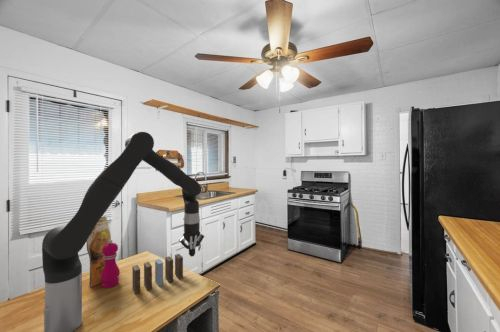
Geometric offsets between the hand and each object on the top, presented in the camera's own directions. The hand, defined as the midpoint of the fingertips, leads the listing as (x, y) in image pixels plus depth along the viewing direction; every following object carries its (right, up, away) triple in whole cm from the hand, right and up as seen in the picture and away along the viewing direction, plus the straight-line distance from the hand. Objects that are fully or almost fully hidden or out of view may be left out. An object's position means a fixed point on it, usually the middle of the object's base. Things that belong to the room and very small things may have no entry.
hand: (192, 255), depth 107 cm
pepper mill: (-34, -9, -11) cm, 36 cm away
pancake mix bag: (-42, -8, -6) cm, 43 cm away
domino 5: (-5, -8, -4) cm, 11 cm away
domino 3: (-12, -8, -10) cm, 18 cm away
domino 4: (-9, -8, -7) cm, 14 cm away
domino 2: (-16, -8, -13) cm, 22 cm away
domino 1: (-20, -8, -16) cm, 26 cm away
